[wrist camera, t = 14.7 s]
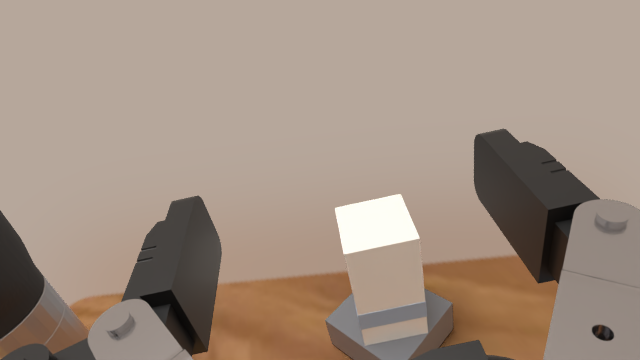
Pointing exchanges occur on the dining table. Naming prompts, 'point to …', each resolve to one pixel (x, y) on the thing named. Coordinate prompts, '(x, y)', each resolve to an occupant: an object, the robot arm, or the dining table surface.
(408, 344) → the block
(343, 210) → the milk carton
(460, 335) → the dining table surface
